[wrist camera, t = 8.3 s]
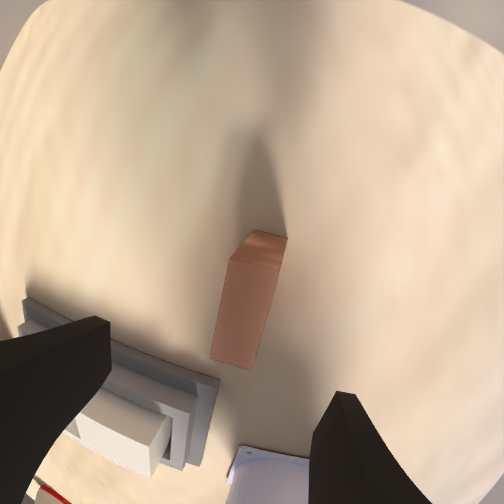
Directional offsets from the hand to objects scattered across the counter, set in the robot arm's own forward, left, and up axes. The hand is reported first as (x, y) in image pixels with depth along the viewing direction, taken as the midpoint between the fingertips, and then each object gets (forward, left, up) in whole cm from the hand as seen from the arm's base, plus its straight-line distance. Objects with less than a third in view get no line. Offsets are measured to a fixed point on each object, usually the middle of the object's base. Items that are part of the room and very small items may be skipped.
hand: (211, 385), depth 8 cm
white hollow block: (+11, +15, -9) cm, 21 cm away
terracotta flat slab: (0, 0, -10) cm, 10 cm away
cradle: (+11, +15, -10) cm, 21 cm away
